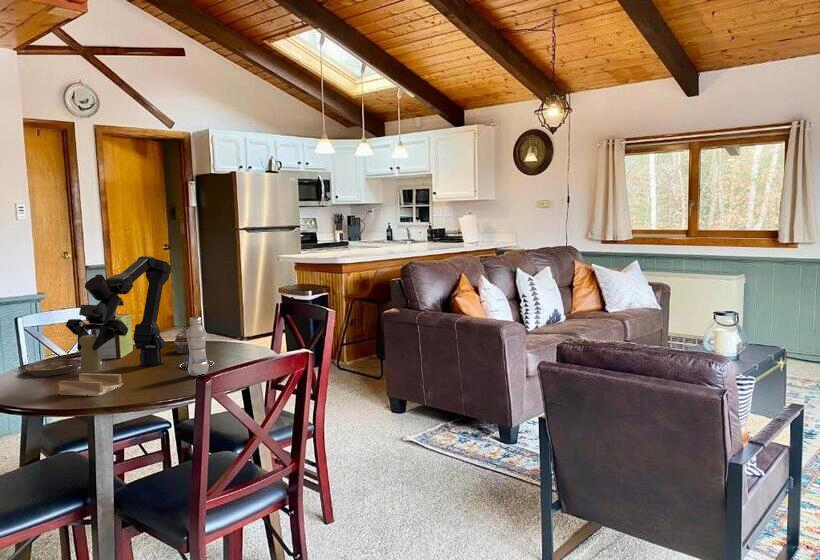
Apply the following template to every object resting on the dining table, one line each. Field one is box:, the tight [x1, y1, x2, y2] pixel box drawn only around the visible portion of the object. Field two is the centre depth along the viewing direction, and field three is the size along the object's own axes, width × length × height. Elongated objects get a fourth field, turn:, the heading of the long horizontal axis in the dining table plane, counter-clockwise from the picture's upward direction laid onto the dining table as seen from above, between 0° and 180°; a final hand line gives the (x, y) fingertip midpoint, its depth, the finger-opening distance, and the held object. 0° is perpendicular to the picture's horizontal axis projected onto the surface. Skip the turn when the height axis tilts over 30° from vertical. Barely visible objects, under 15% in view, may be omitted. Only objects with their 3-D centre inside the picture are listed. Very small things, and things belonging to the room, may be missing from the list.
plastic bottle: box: [186, 316, 209, 377], centre depth 208 cm, size 6×7×20 cm
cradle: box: [57, 372, 124, 397], centre depth 194 cm, size 12×14×4 cm
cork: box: [79, 334, 102, 373], centre depth 193 cm, size 6×6×11 cm
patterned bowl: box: [179, 353, 215, 370], centre depth 224 cm, size 12×12×5 cm
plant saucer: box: [24, 358, 81, 377], centre depth 219 cm, size 18×18×3 cm
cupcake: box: [173, 326, 190, 354], centre depth 248 cm, size 10×10×10 cm
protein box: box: [90, 313, 134, 360], centre depth 244 cm, size 10×15×16 cm
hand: (86, 349), depth 191 cm, fingers closed on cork, 5 cm apart
